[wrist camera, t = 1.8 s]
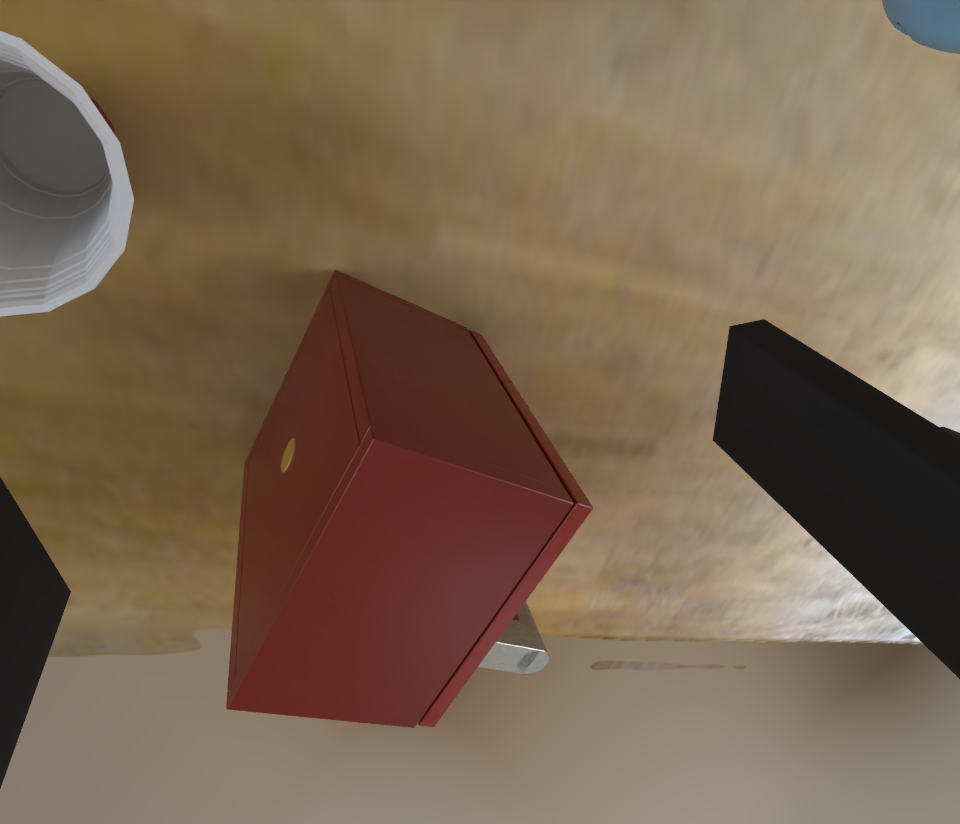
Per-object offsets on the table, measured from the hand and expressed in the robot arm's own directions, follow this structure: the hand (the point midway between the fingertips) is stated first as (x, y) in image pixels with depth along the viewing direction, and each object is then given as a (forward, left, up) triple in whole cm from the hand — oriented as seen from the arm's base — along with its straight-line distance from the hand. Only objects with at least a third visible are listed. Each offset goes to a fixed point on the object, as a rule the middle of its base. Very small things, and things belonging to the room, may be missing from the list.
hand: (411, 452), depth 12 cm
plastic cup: (+13, -3, -31) cm, 34 cm away
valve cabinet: (+1, +16, -31) cm, 35 cm away
